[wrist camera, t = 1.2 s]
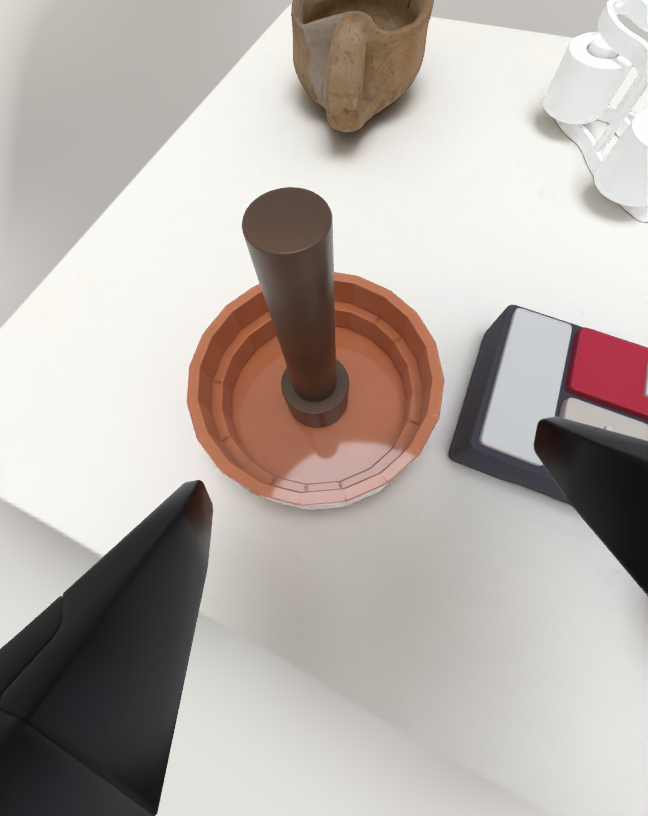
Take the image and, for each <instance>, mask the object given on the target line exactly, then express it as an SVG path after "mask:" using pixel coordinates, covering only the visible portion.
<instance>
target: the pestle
mask: <svg viewBox="0 0 648 816" xmlns="http://www.w3.org/2000/svg"><path fill="white" fill-rule="evenodd" d="M242 230H243V234H244V237H245V240H246V243H247V246H248V249H249V252H250V256H251V259H252V262H253V265H254V268H255V271H256V274H257V277H258V280H259V283H260V286H261V289H262V292H263V295H264V298H265V301H266V304H267V307H268V310H269V313H270V316H271V320H272V323H273V326H274V329H275V332H276V335H277V338H278V341H279V344H280V347H281V350H282V353H283V356H284V359H285V362H286V365H287V368H286V370H285V371H284V374H283V376H282V381H281V388H282V393H283V396H284V398H285V400H286V403H287V405H288V408H289V410H290V412H291V414H292V415H293V417H294V418H295V419H296V420H297V421H298V422H300V423H302V424H303V425H306V426H309V427H314V428H320V427H326V426H329V425H331V424H333V423H335V422H336V421H337V420H338V419H340V418H341V416H342V415H343V414H344V412H345V410H346V408H347V404H348V391H349V378H348V374H347V371H346V369H345V368H344V366H343V365H342V364H341V363H340V362H339V361H338V360H337V359H336V342H335V303H334V264H333V225H332V213H331V210H330V208H329V206H328V204H327V203H326V202H325V200H324V199H323V198H322V197H320V196H319V195H318V194H316V193H314V192H312V191H309V190H306V189H302V188H294V187H288V188H280V189H275V190H272V191H269V192H267V193H265V194H263V195H261V196H260V197H258V198H257V199H255V200H254V201H253V202H252V203H251V204H250V205H249V207H248V208H247V210H246V211H245V213H244V216H243V221H242Z"/></svg>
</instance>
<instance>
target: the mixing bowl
mask: <svg viewBox="0 0 648 816" xmlns="http://www.w3.org/2000/svg"><path fill="white" fill-rule="evenodd" d="M334 303H335V342H336V359H337V360H338V361H339V362H340V363H341V364H342V365H343V366H344V368H345V369H346V371H347V374H348V378H349V391H348V404H347V408H346V410H345V412H344V414H343V415H342V416H341V418H340V419H338V420H337V421H336V422H335V423H333V424H331V425H329V426H326V427H320V428H314V427H309V426H306V425H303V424H302V423H300V422H298V421H297V420H296V419H295V418H294V417H293V415H292V414H291V412H290V410H289V408H288V405H287V403H286V400H285V398H284V396H283V393H282V388H281V381H282V376H283V374H284V371H285V370H286V368H287V365H286V362H285V359H284V356H283V353H282V350H281V347H280V344H279V341H278V338H277V335H276V332H275V329H274V326H273V323H272V320H271V316H270V313H269V310H268V307H267V304H266V301H265V298H264V295H263V292H262V289H261V286H260V284H259V285H256V286H254V287H252V288H251V289H250V290H248V291H247V292H245V293H244V294H242V295H241V296H239V297H238V298H237V299H235V300H234V301H232V302H231V303H229V304H228V305H226V307H225V308H224V309H223V310H222V311H221V312H220V314H219V315H218V316H217V317H216V319H215V320H214V321H213V322H212V323H211V325H210V326H209V327H208V328H207V329H206V331H205V332H204V334H203V335H202V337H201V339H200V342H199V344H198V347H197V349H196V351H195V354H194V356H193V359H192V361H191V363H190V367H189V378H188V392H187V406H188V409H189V413H190V416H191V420H192V423H193V427H194V430H195V434H196V437H197V439H198V441H199V442H200V444H201V445H202V447H203V448H204V449H205V451H206V452H207V453H208V455H209V456H210V457H211V459H212V460H213V461H214V463H215V464H216V466H217V467H218V468H219V470H220V471H222V473H224V474H225V475H227V476H228V477H230V478H231V479H233V480H235V481H236V482H238V483H239V484H241V485H242V486H244V487H245V488H247V489H248V490H250V491H251V492H253V493H254V494H256V495H258V496H261V497H263V498H265V499H268V500H270V501H273V502H277V503H281V504H285V505H289V506H293V507H297V508H301V509H305V510H316V509H328V508H339V507H345V506H349V505H351V504H353V503H355V502H358V501H360V500H362V499H364V498H367V497H369V496H371V495H374V494H376V493H378V492H379V491H381V490H382V489H383V488H384V487H385V486H386V485H387V484H389V483H390V482H391V481H392V480H393V479H394V478H395V477H396V476H397V475H398V474H399V473H400V472H402V471H403V470H404V469H405V468H406V467H407V466H408V465H409V464H410V463H411V462H412V461H413V460H414V459H415V458H416V457H417V456H419V454H420V453H421V451H422V450H423V448H424V446H425V444H426V442H427V440H428V438H429V436H430V434H431V432H432V430H433V428H434V427H435V425H436V423H437V421H438V419H439V416H440V408H441V400H442V392H443V385H444V377H443V373H442V368H441V364H440V359H439V355H438V351H437V346H436V342H435V341H434V339H433V338H432V336H431V334H430V333H429V331H428V330H427V328H426V326H425V325H424V323H423V322H422V320H421V318H420V317H419V315H418V314H417V312H415V311H414V310H413V309H412V308H411V307H409V306H408V305H407V304H406V303H405V302H404V301H402V300H401V299H400V298H399V297H398V296H396V295H395V294H394V293H393V292H392V291H390V290H388V289H386V288H384V287H381V286H379V285H377V284H375V283H373V282H370V281H368V280H366V279H364V278H361V277H359V276H355V275H349V274H342V273H336V272H334Z"/></svg>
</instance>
